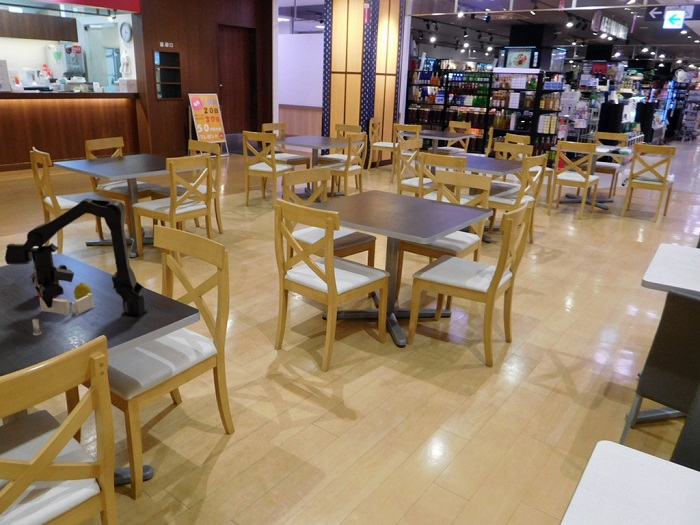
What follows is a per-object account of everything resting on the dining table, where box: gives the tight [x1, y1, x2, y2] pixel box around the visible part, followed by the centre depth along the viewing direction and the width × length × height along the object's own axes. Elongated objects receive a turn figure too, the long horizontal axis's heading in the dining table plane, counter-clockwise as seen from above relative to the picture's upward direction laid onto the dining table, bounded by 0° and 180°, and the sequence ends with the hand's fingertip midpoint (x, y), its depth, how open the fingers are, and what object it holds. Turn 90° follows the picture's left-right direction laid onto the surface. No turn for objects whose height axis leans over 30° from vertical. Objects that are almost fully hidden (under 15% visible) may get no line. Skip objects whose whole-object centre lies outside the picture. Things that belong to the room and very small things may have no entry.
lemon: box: [73, 282, 92, 301], centre depth 196 cm, size 6×6×8 cm
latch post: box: [32, 318, 43, 337], centre depth 172 cm, size 2×2×5 cm
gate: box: [39, 297, 71, 316], centre depth 187 cm, size 10×2×5 cm, turn 76°
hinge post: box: [69, 301, 77, 318], centre depth 186 cm, size 2×2×5 cm
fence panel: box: [73, 293, 95, 315], centre depth 190 cm, size 2×7×5 cm, turn 162°
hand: (49, 307), depth 185 cm, fingers closed
